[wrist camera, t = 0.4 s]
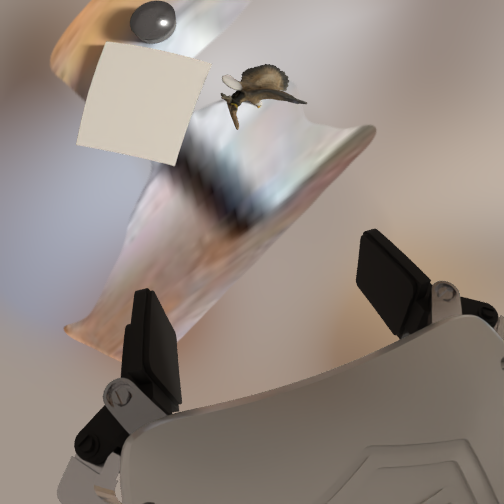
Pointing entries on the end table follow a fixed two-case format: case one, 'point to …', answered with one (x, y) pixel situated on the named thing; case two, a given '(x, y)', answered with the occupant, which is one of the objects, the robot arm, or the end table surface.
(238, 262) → the end table surface
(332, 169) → the end table surface
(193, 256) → the end table surface
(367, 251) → the robot arm
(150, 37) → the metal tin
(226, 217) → the end table surface
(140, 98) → the white slab
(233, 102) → the eagle figurine
